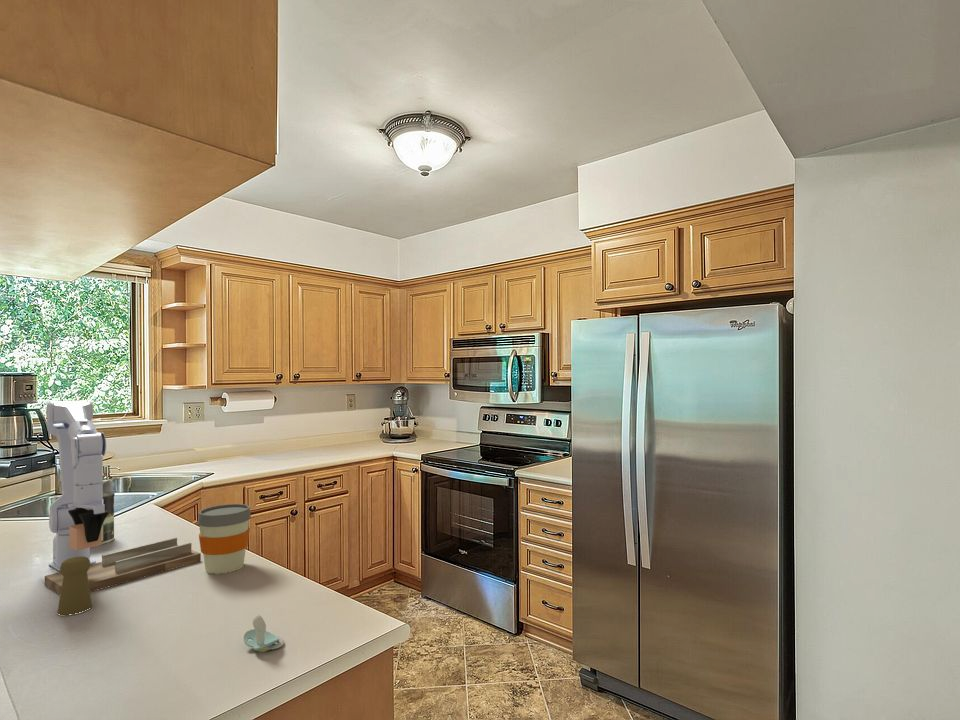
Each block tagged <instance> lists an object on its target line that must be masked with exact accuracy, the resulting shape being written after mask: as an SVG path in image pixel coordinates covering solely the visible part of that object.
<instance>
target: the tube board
mask: <svg viewBox="0 0 960 720" xmlns="http://www.w3.org/2000/svg"><path fill="white" fill-rule="evenodd" d="M201 554H202V552H198V551H196V550H192V542H188V543H187V542H186V543H182V544H178V537H172V538H168V539H164V540H159V541H155V542H152V543H148V544H144V545H139V546H135V547H131V548H130V547H129V548H126V549H122V550H119V551H118V550H117V551H114V552H110V553H106V554H103V555H101V561H99V562H96V563H93V564H90V567H89V570H88V571H87V575H88V582H89V588H90V591H93V592H95V591H94V590H96V591H98V590H97V589H100V590H102V589H101V588H103V589H106V588H105V587H107V588H109V587H108V586H110V587H113V586H112V585H114V586H116V585H115V584H117V585H120V584H119V583H121V584H123V583H122V582H124V583H127V582H126V581H128V582H131V581H134V580H133V579H135V580H138V579H142V578H145V577H144V576H146V577H149V576H152V574H153V575H156V574H160V573H162V571H163V572H167V571H169V569H170V570H173V569H172V568H174V569H177V568H180V566H181V567H184V566H187V564H188V565H191V564H194V562H195V563H197V561H198V562H201V561H200V560H202V557H201V556H202V555H201ZM190 563H191V564H190ZM183 565H184V566H183ZM176 567H177V568H176ZM166 570H167V571H166ZM159 572H160V573H159ZM155 573H156V574H155ZM148 575H149V576H148ZM141 577H142V578H141ZM137 578H138V579H137ZM130 580H131V581H130ZM62 582H63V575H62V574H61V572H60V571H58V572H56V573H51V574H47V575H44V585H45V584H46V585H47V587H48V586H49V587H50V588H49V587H48V588H49V589H51V588H52V589H53V590H52V589H51V590H52V591H54V592H55V593H57V592H58V593H57V594H59V595H60V594H61V588H62ZM46 585H45V586H46Z"/></svg>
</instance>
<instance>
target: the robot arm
mask: <svg viewBox="0 0 960 720" xmlns="http://www.w3.org/2000/svg"><path fill="white" fill-rule="evenodd" d="M45 408H46V409H45V410H46V412H45V414H46V415H45V417H46V430H47V431H48V434H49V435H51V436H54V437H55V438H56V440H57V444H58V453H59V466H60V467H59V469H60V471H59V472H60V484H61V486H60V487H61V495H60V496H59V497H58V498H57V499H55V500H54V501H53V502H51V505H50V506H49V514H48V525H49V527H48V528H49V530H50V532H51V533H52V534H55V536H54V537H53V539H52V561H50V562H48V565H49V566H51V567H52V568H54V569H55V570H57V571H58V572H60V567H61V564H62V562H64V561H65V560H67V559H69V558H73V557H81V556H83V557H87V558H88V559H89V560H90V565H91V564H95V563H97V561H96V560H95V559H93V558H91V548H86V549H82V550H78V551H76V550H74V549H72V548H70V547H69V526H72V525H77V524H82V523H83V525H84V529H85V536H86V540H87V542H88V543H89V542H94V541H98V539H99V535H100V531H101V528H102V525H103V522H104V520H105V518H106V517H107V515H108V511H107V510H105V505H104V504H103V502H104V500H103V492H104V490H103V486H104V485H103V484H104V483H103V482H104V481H103V474H104V473H103V472H104V471H103V470H104V469H103V468H104V467H103V466H104V465H103V464H104V463H103V462H104V460H103V459H104V456H105V455H106V453H107V452H106V451H107V439H106V438H107V437H106V436H105V433H104V432H103V431H102V432H99V431H98V430H97V428H96V426H95V424H94V423H93V421H92V420H93V418H94V405H93V402H92V401H91V400H90V399H86V400H68V401H63V400H62V401H61V400H60V401H52V400H50V401H48V403H47V404H46V407H45Z"/></svg>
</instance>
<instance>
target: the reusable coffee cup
mask: <svg viewBox="0 0 960 720" xmlns="http://www.w3.org/2000/svg"><path fill="white" fill-rule="evenodd" d="M251 515H252V514H251V508H250V505H249V504H243V503H230V504H221V505H214V506H208V507H206V508H203V509H200V510H199V511H198V517H197V524H198V527H199V533H198V541H199V547H200V553H201V554H203V563H204V568H205V572H206V573H207V572H208V573H207V574H210V573H215V574H214V575H220V574H219V573H223V574H228V573H227V572H229V573H232V572H231V571H233V572H235V570H236V571H238V570H240V569H242V568H243V567H244V565H245V557H246V550H247V549H246V548H247V547H248V545H249V537H250V531H251V530H250V529H251V527H249V526H250V519H251V518H252V516H251Z"/></svg>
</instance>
